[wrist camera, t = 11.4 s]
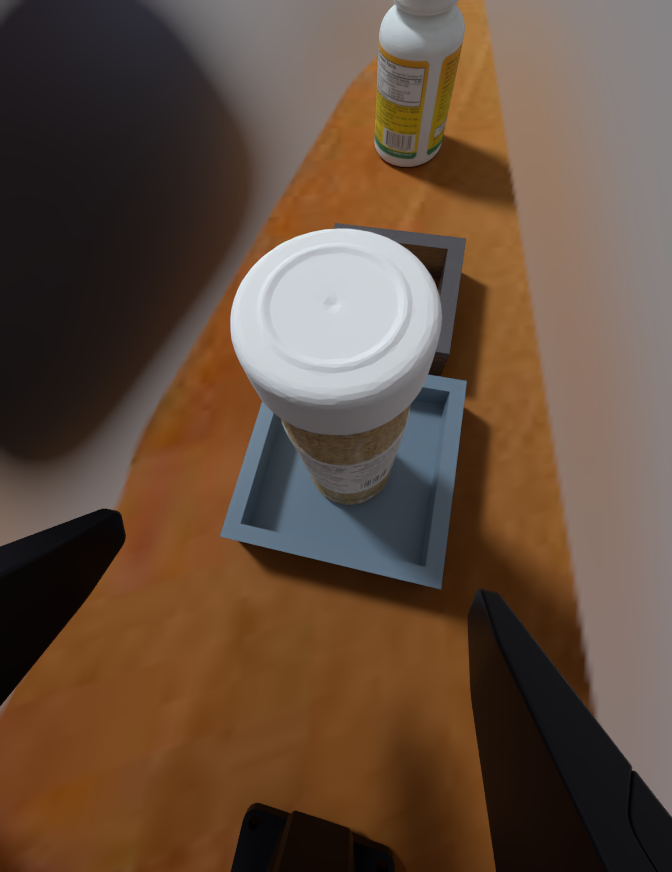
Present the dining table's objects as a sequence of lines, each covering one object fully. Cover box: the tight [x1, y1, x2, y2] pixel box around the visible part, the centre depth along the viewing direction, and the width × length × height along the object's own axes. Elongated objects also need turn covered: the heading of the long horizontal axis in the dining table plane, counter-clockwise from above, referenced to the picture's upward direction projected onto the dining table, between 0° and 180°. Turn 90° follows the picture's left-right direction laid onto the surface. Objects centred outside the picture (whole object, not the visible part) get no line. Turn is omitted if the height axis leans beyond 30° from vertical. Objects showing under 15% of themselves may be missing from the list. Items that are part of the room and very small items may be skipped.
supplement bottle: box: [375, 0, 465, 167], centre depth 25 cm, size 5×5×10 cm
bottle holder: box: [334, 223, 466, 376], centre depth 23 cm, size 8×8×2 cm
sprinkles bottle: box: [231, 229, 442, 505], centre depth 14 cm, size 5×5×13 cm
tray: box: [220, 375, 467, 589], centre depth 20 cm, size 11×11×2 cm
